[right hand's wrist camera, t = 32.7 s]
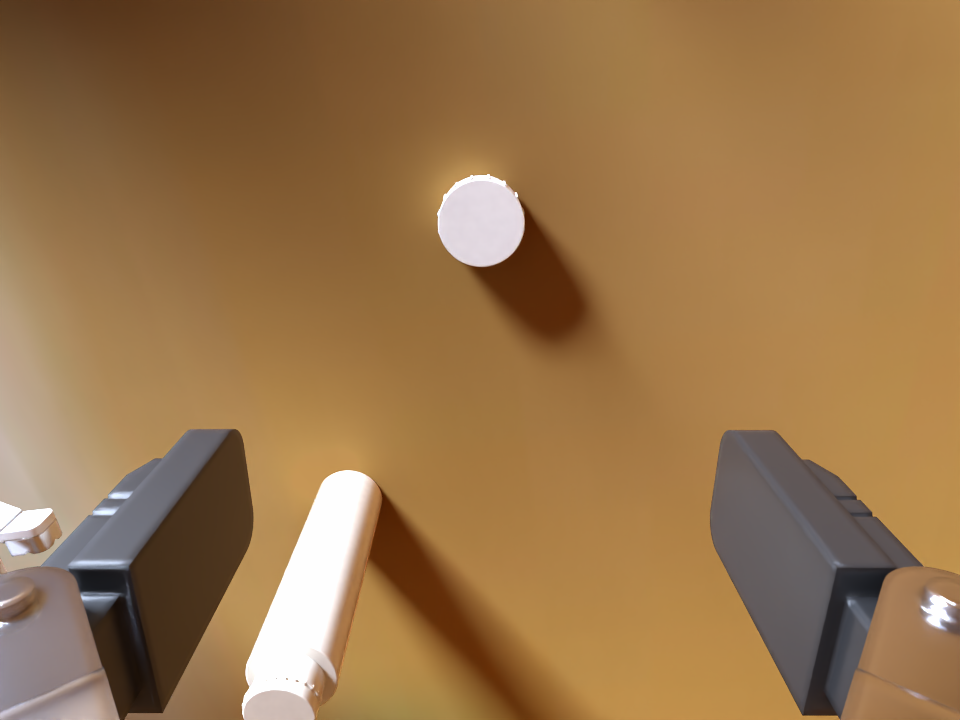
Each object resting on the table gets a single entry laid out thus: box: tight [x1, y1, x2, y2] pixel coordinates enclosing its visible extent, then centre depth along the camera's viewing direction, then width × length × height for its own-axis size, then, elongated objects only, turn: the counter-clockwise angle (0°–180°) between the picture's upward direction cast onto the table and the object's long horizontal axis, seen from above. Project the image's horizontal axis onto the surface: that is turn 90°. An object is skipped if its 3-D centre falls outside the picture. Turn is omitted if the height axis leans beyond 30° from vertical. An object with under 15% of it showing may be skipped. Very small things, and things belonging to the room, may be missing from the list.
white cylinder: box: [242, 471, 382, 720], centre depth 35 cm, size 4×4×16 cm
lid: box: [437, 175, 525, 267], centre depth 35 cm, size 4×4×2 cm
